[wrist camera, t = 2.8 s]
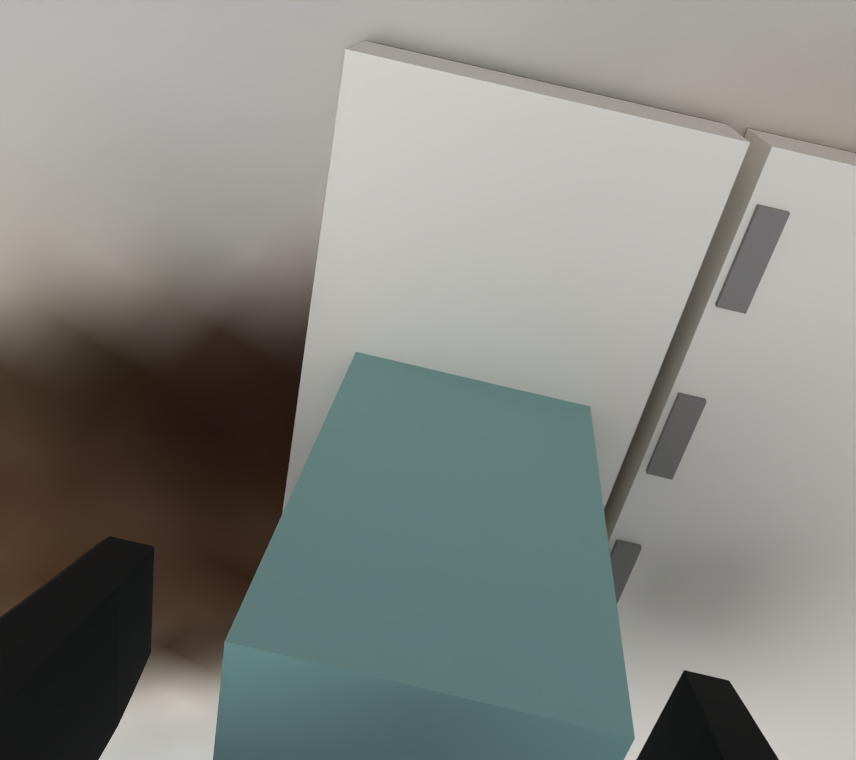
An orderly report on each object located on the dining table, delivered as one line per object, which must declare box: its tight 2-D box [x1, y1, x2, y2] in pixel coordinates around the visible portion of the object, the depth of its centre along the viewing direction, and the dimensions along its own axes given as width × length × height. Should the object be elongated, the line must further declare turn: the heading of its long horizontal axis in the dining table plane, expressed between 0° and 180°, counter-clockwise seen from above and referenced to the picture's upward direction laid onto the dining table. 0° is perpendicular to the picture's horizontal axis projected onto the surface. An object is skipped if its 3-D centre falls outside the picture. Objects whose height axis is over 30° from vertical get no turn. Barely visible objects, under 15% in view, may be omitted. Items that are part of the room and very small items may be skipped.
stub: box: [213, 41, 750, 760], centre depth 11 cm, size 5×14×7 cm, turn 169°
